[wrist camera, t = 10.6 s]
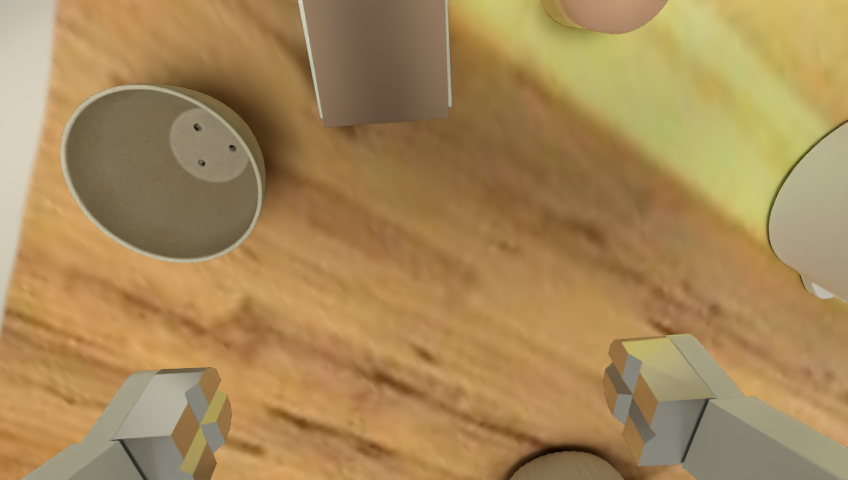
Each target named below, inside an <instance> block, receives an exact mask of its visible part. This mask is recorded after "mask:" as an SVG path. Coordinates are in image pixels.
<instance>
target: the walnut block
mask: <svg viewBox="0 0 848 480" xmlns="http://www.w3.org/2000/svg"><path fill="white" fill-rule="evenodd" d="M302 1H303V7H304V13H305V19H306V24H307V30H308V36H309V42H310V47H311V53H312V59H313V65H314V70H315V76H316V82H317V87H318V93H319V99H320V105H321V110H322V116H323V122H324V128H327V127H340V126H353V125H366V124H379V123H392V122H405V121H418V120H431V119H444V118H449V105H448V74H447V43H446V12H445V0H302Z"/></svg>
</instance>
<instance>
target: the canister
mask: <svg viewBox="0 0 848 480" xmlns="http://www.w3.org/2000/svg"><path fill="white" fill-rule="evenodd" d="M510 480H624V479H623V478H622V476H621V475H620V474H619V473H618V471H617V470H616V469H615V468H614V467H612V466H611V465H610V464H609V463H608V462H607V461H605V460H603V459H601V458H600V457H598V456H596V455H592V454H590V453H584V452H582V451H580V452H576V451H563V452H555V453H551V454H550V453H549V454H547V455H545V456H540V457H539V458H536V459H533V460H532V461H531V462H527V463H526V464H525V465H524V466H522V467H520V468H519V470H518V471H516V472H515V473H514V475H513V476H512V477H511V478H510Z"/></svg>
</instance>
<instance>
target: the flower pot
mask: <svg viewBox="0 0 848 480" xmlns="http://www.w3.org/2000/svg"><path fill="white" fill-rule="evenodd" d="M194 126H196V127H197V128H198V131H197V130H196V129H195V127H194ZM231 145H234V146H235V147H234V148H233V147H230V146H231ZM60 160H61V166H62V171H63V174H64V178H65V181H66V183H67V186H68V188H69V190H70V192H71V194H72V196H73V198H74V200H75V201H76V203H77V204H78V206H79V207H80V209H81V210H82V211H83V212H84V214H85V215H86V216H87V217H88V218H89V219H90V220H91V222H92V223H93V224H94V225H95V226H97V227H98V228H99V229H100V230H101V231H102V232H103V233H105V234H106V235H107V236H108V237H110V238H111V239H113V240H114V241H116V242H118V243H119V244H121V245H122V246H124V247H126V248H128V249H130V250H132V251H135V252H137V253H139V254H142V255H144V256H147V257H150V258H154V259H158V260H162V261H168V262H176V263H194V262H203V261H207V260H212V259H215V258H218V257H220V256H223V255H225V254H227V253H229V252H231V251H232V250H234V249H235V248H237V247H238V246H239V245H240V244H242V243H243V242H244V241H245V240H246V239H247V237H248V236H249V235H250V233H251V232H252V231H253V229H254V227H255V225H256V224H257V221H258V219H259V216H260V213H261V210H262V206H263V202H264V197H265V188H266V173H265V164H264V159H263V155H262V152H261V149H260V146H259V144H258V142H257V139H256V137H255V136H254V134H253V132H252V131H251V129H250V128H249V126H248V125H247V124H246V123H245V121H244V120H243V119H242V118H241V117H240V116H239V115H238V114H237V113H235V112H234V111H233V110H232V109H231V108H229V107H228V106H226V105H225V104H223V103H222V102H220V101H218V100H216V99H214V98H213V97H210V96H208V95H206V94H203V93H200V92H198V91H194V90H191V89H187V88H183V87H178V86H172V85H164V84H130V85H122V86H116V87H112V88H108V89H105V90H103V91H100V92H98V93H96V94H94V95H92V96H91V97H89V98H87V99H86V100H85V101H84V102H82V103H81V104H80V105H79V106H78V107H77V108H76V110H75V111H74V112H73V113H72V115H71V116H70V118H69V120H68V122H67V123H66V126H65V128H64V131H63V134H62V139H61V145H60ZM203 162H205V165H203Z"/></svg>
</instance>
